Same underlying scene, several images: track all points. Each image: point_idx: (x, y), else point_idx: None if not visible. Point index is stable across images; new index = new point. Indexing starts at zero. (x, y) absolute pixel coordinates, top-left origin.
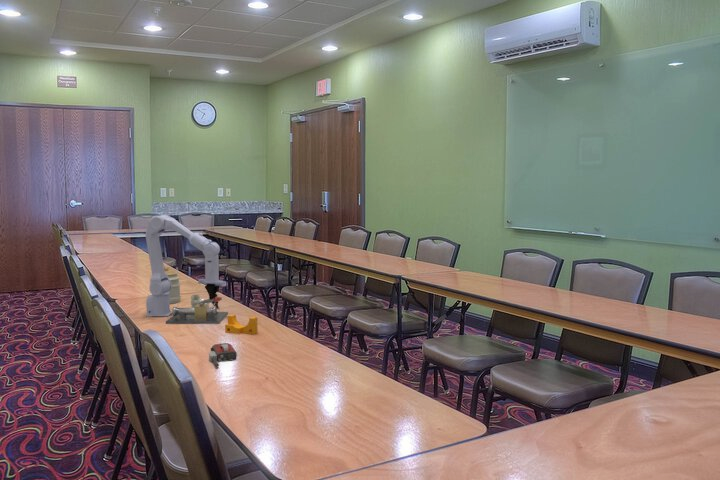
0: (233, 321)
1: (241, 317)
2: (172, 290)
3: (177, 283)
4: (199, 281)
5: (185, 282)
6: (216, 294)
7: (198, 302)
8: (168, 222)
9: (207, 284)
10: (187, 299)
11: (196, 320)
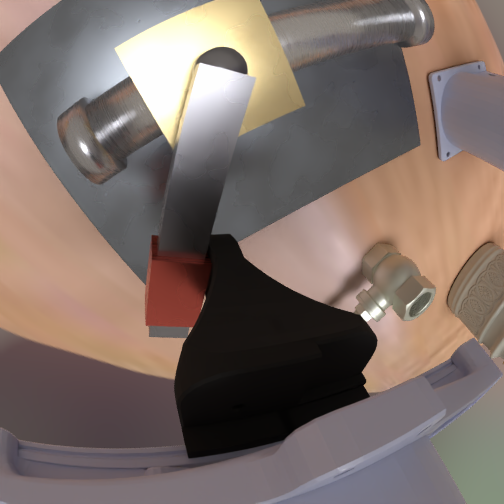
0: None
1: (19, 263)
2: (489, 299)
3: (489, 332)
4: (480, 363)
5: None
6: None
7: (383, 283)
8: None
9: (359, 396)
10: (432, 324)
11: None
